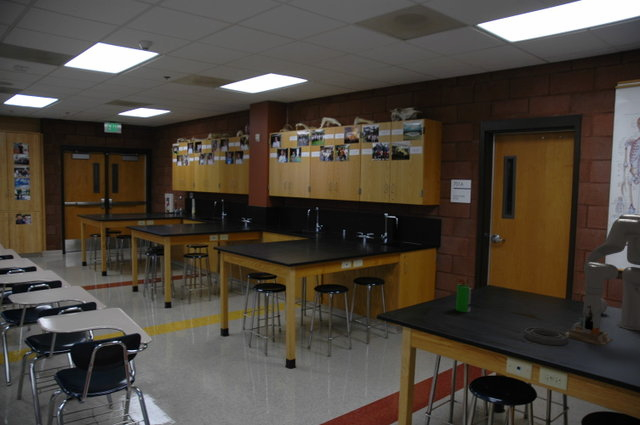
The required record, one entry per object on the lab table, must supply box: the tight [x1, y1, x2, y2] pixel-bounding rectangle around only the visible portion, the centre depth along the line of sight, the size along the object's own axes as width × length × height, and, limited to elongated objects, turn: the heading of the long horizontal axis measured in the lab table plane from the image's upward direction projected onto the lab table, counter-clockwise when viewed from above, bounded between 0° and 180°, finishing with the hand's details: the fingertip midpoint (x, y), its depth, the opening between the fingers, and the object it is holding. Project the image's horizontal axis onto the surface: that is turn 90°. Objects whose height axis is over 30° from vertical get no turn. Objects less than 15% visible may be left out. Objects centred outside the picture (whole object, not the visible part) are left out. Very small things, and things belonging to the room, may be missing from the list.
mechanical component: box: [524, 326, 569, 346], centre depth 221 cm, size 18×18×3 cm
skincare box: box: [583, 310, 602, 335], centre depth 222 cm, size 6×4×12 cm
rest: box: [564, 326, 613, 347], centre depth 224 cm, size 14×18×4 cm
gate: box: [571, 317, 584, 330], centre depth 235 cm, size 12×2×4 cm, turn 133°
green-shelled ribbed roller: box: [455, 278, 472, 313], centre depth 267 cm, size 9×8×18 cm
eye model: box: [601, 297, 608, 314], centre depth 269 cm, size 10×10×10 cm
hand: (591, 327), depth 222 cm, fingers closed on skincare box, 7 cm apart
